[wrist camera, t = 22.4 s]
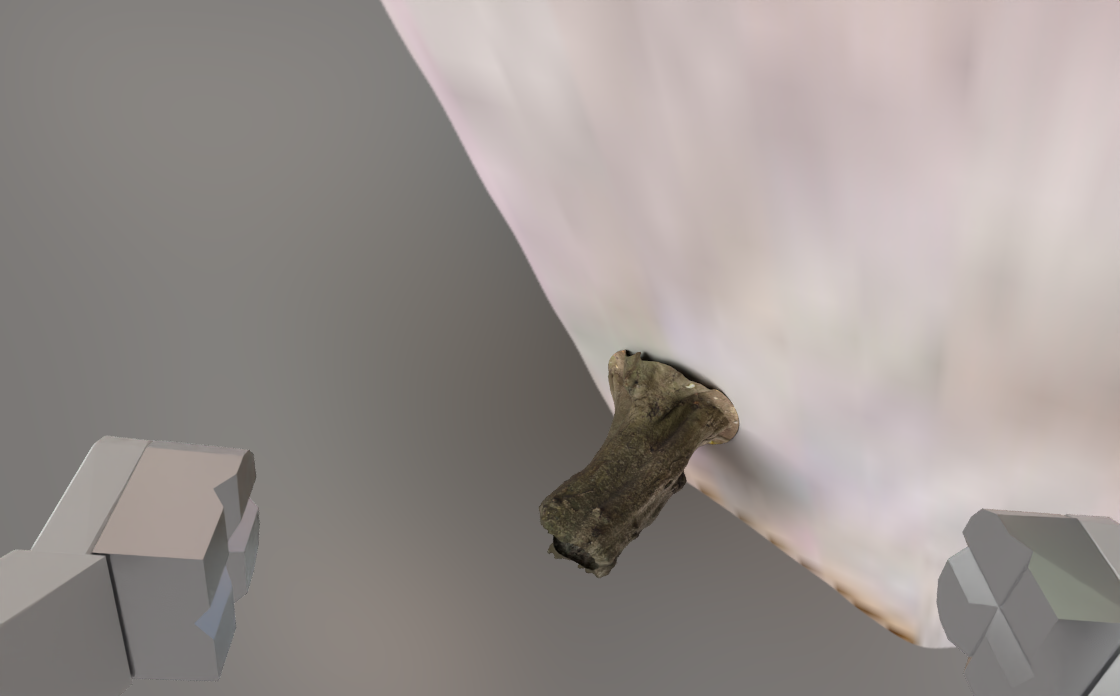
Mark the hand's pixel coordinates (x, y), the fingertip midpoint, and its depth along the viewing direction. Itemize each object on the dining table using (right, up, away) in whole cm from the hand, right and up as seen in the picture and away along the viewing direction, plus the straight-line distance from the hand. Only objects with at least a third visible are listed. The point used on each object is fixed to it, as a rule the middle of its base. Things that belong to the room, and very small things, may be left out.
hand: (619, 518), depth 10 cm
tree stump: (+7, -1, +53) cm, 54 cm away
